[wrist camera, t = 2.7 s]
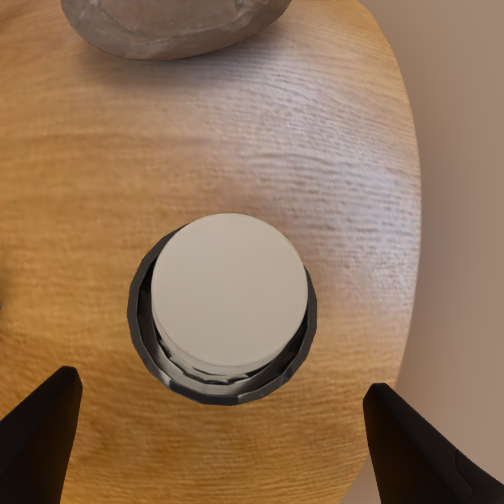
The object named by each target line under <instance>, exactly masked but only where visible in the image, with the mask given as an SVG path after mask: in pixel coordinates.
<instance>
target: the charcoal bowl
mask: <svg viewBox="0 0 504 504" xmlns="http://www.w3.org/2000/svg"><path fill="white" fill-rule="evenodd" d="M188 224H190V223H188ZM188 224H186V225H188ZM186 225H184V226H182V227H180V228H178V229H177V230H175V231H173V232H171V233H169V234H168V235H166V236H164V237H163V238H162V239H161V240H160V241H159V242H158V243H157V244H156V245H155V246H154V247H153V248H152V249H151V250H150V251H149V252H148V253H147V254H146V255H145V257H144V259H142V261H141V263H140V265H139V267H138V269H137V272H136V274H135V276H134V278H133V280H132V282H131V285H130V291H129V299H128V308H127V314H128V315H127V319H128V324H129V329H130V333H131V338H132V343H133V344H134V347H135V349H136V351H137V352H138V354H139V356H140V358H141V359H142V361H143V363H144V364H145V366H146V368H147V369H148V371H149V372H150V373H151V374H152V375H153V376H154V377H156V378H157V379H158V380H159V381H160V382H161V383H162V384H164V385H165V386H166V387H167V388H168V389H169V390H171V391H173V392H174V393H176V394H178V395H181V396H183V397H185V398H188V399H190V400H193V401H195V402H198V403H200V404H201V403H202V404H208V405H223V406H235V405H239V404H243V403H247V402H250V401H254V400H258V399H261V398H263V397H265V396H267V395H268V394H270V393H272V392H273V391H275V390H276V389H278V388H279V387H281V386H282V385H284V384H285V383H286V382H288V381H289V380H290V379H291V377H292V376H293V375H294V373H295V372H296V371H297V370H298V368H299V367H300V366H301V364H302V363H303V362H304V361H305V359H306V357H307V356H308V353H309V350H310V347H311V344H312V341H313V339H314V336H315V333H316V329H317V298H316V295H315V291H314V288H313V285H312V281H311V278H310V275H309V273H308V271H307V269H306V268H305V266H304V265H303V266H304V269H305V272H306V277H307V285H308V298H307V306H306V310H305V314H304V317H303V319H302V322H301V324H300V326H299V328H298V329H297V331H296V333H295V334H294V336H293V337H292V338H291V339H290V341H289V342H288V343H287V345H286V346H285V347H284V349H283V350H282V351H281V352H280V353H279V354H278V355H277V356H276V357H275V358H274V359H273V360H272V361H270V362H269V363H267V364H266V365H264V366H262V367H260V368H258V369H256V370H254V371H250V372H247V373H243V374H236V375H215V374H210V373H207V372H203V371H201V370H198V369H196V368H194V367H192V366H190V365H188V364H186V363H185V362H184V361H182V360H181V359H180V358H179V357H178V356H177V355H176V354H175V353H173V352H172V351H171V349H170V348H169V347H168V346H167V345H166V344H165V342H164V341H163V339H162V337H161V335H160V333H159V331H158V329H157V327H156V324H155V321H154V318H153V313H152V302H151V301H152V294H151V284H152V276H153V271H154V268H155V265H156V262H157V259H158V257H159V255H160V253H161V251H162V250H163V248H164V247H165V245H166V244H167V243H168V241H169V240H170V239H171V238H172V237H173V236H174V235H175V234H176V233H177V232H178V231H180V230H181V229H182V228H184V227H185V226H186Z"/></svg>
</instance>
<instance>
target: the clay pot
mask: <svg viewBox="0 0 504 504" xmlns="http://www.w3.org/2000/svg"><path fill="white" fill-rule="evenodd" d="M290 2H291V0H61V5H62V9H63V12H64V14H65V16H66V17H67V19H68V21H69V23H70V24H71V26H72V27H73V29H74V30H75V31H76V32H77V33H78V34H79V35H80V36H81V37H82V38H83V39H84V40H86V41H87V42H88V43H90V44H91V45H93V46H95V47H97V48H98V49H100V50H102V51H105V52H107V53H110V54H113V55H115V56H118V57H121V58H125V59H133V60H162V61H167V60H173V59H178V58H187V57H193V56H197V55H201V54H205V53H209V52H213V51H216V50H219V49H222V48H225V47H228V46H231V45H234V44H236V43H238V42H241V41H243V40H245V39H247V38H249V37H250V36H252V35H254V34H256V33H258V32H260V31H261V30H263V29H264V28H266V27H267V26H268V25H270V24H271V23H273V22H274V21H276V20H277V19H278V18H279V17H280V16H281V15H282V14H283V13H284V12H285V10H286V9H287V7H288V5H289V4H290Z"/></svg>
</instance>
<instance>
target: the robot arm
mask: <svg viewBox="0 0 504 504" xmlns="http://www.w3.org/2000/svg"><path fill="white" fill-rule="evenodd" d="M82 391H83V386H82V382H81V380H80V377H79V375H78V372H77V370H76V368H74V367H70V366H62V367H61V368H59V369H58V370H57V371H56V372H55V373H54V374H52V375H51V376H50V377H49V378H48V379H47V380H46V381H44V382H43V383H42V384H41V385H40V386H39V387H38V388H36V389H35V390H34V391H33V392H32V393H31V394H30V395H29V396H27V397H26V398H25V399H24V400H23V401H22V402H21V403H20V404H19V405H17V406H16V407H15V408H14V409H13V410H12V411H11V412H10V413H9V414H7V415H6V416H5V417H4V418H3V419H2V420H1V421H0V504H60V499H61V494H62V489H63V484H64V480H65V475H66V471H67V466H68V462H69V458H70V454H71V450H72V446H73V442H74V438H75V434H76V428H77V421H78V415H79V409H80V403H81V397H82ZM363 411H364V419H365V426H366V434H367V441H368V447H369V451H370V455H371V460H372V464H373V468H374V472H375V477H376V481H377V486H378V490H379V495H380V500H381V504H504V485H503V484H502V483H500V482H499V481H498V480H496V479H495V478H493V477H492V476H491V475H489V474H488V473H486V472H485V471H484V470H482V469H481V468H480V467H478V466H477V465H476V464H474V463H473V462H472V461H471V460H470V459H468V458H467V457H466V456H465V455H464V454H463V453H462V452H460V451H459V450H458V449H456V447H455V446H454V445H452V444H451V443H450V442H449V441H448V440H447V439H446V438H445V437H444V436H443V435H442V434H441V433H439V432H438V431H437V430H436V429H435V428H434V427H433V426H432V425H431V424H430V423H428V422H427V421H426V420H425V419H424V418H423V417H422V416H421V415H420V414H419V413H418V412H416V411H415V410H414V409H413V408H412V407H411V406H410V405H409V404H408V403H407V402H405V401H404V400H403V399H402V398H401V397H400V396H399V395H398V394H397V393H396V392H395V391H394V390H392V389H391V388H390V387H389V386H388V385H387V384H386V383H374V384H372V385H371V387H370V388H369V390H368V392H367V393H366V395H365V397H364V399H363Z"/></svg>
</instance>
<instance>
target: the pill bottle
mask: <svg viewBox="0 0 504 504" xmlns="http://www.w3.org/2000/svg"><path fill="white" fill-rule="evenodd" d="M151 294H152V301H151V302H152V313H153V318H154V321H155V324H156V327H157V329H158V331H159V333H160V335H161V337H162V339H163V341H164V342H165V344H166V345H167V346H168V347H169V348H170V349H171V351H172V352H173V353H175V354H176V355H177V356H178V357H179V358H180V359H181V360H182V361H184V362H185V363H186V364H188V365H190V366H192V367H194V368H196V369H198V370H201V371H203V372H207V373H210V374H215V375H236V374H243V373H247V372H250V371H254V370H256V369H258V368H260V367H262V366H264V365H266V364H267V363H269V362H270V361H272V360H273V359H274V358H275V357H276V356H277V355H278V354H279V353H280V352H281V351H282V350H283V349H284V347H285V346H286V345H287V343H288V342H289V341H290V339H291V338H292V337H293V336H294V334H295V333H296V331H297V329H298V328H299V326H300V324H301V322H302V319H303V317H304V314H305V310H306V306H307V298H308V285H307V277H306V272H305V269H304V266H303V263H302V261H301V258H300V256H299V254H298V253H297V251H296V249H295V248H294V247H293V245H292V244H291V243H290V241H289V240H288V239H287V238H286V237H285V236H284V235H283V234H282V233H281V232H279V231H278V230H277V229H276V228H274V227H273V226H271V225H270V224H268V223H266V222H264V221H262V220H260V219H257V218H255V217H252V216H248V215H243V214H236V213H222V214H214V215H210V216H206V217H203V218H200V219H198V220H195V221H194V222H192V223H190V224H188V225H186V226H185V227H184V228H182V229H181V230H180V231H178V232H177V233H176V234H175V235H174V236H173V237H172V238H171V239H170V240H169V241H168V243H167V244H166V245H165V247H164V248H163V250H162V251H161V253H160V255H159V257H158V259H157V262H156V265H155V268H154V271H153V276H152V284H151Z"/></svg>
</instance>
